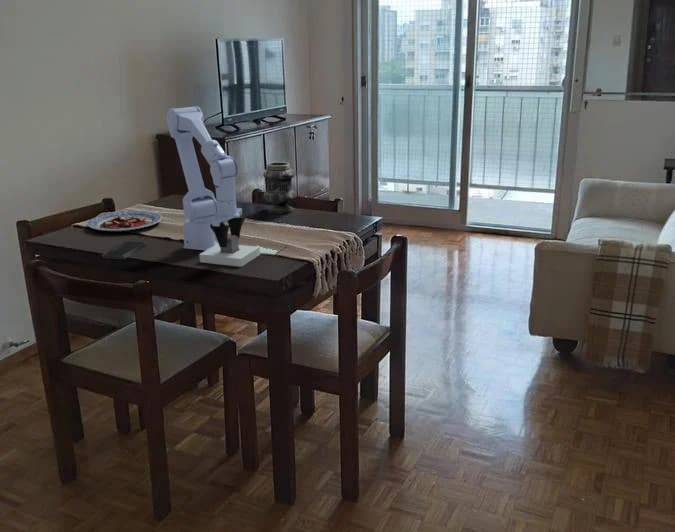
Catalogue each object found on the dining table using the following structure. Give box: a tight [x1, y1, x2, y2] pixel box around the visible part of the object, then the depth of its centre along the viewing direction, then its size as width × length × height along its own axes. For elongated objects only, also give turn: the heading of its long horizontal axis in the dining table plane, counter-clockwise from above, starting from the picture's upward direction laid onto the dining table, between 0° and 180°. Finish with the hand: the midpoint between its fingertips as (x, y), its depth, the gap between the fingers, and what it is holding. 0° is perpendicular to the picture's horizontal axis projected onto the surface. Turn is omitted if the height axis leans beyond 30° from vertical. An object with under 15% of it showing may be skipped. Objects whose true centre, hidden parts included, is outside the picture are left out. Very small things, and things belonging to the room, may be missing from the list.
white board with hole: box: [199, 244, 261, 268], centre depth 212 cm, size 14×12×2 cm
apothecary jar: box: [262, 161, 296, 214], centre depth 264 cm, size 12×12×18 cm
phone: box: [101, 241, 147, 260], centre depth 221 cm, size 8×1×15 cm
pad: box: [255, 245, 281, 256], centre depth 220 cm, size 9×9×1 cm
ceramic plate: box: [86, 210, 163, 233], centre depth 250 cm, size 26×26×3 cm
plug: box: [220, 234, 240, 254], centre depth 211 cm, size 4×4×7 cm
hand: (229, 243), depth 211 cm, fingers open, 7 cm apart
